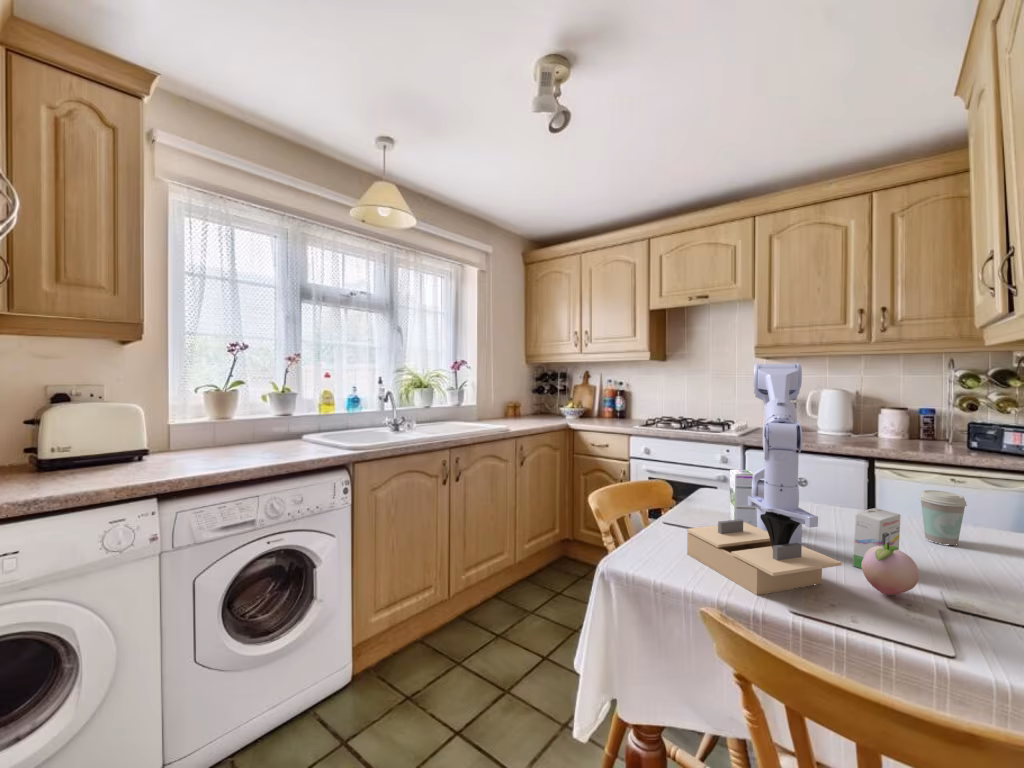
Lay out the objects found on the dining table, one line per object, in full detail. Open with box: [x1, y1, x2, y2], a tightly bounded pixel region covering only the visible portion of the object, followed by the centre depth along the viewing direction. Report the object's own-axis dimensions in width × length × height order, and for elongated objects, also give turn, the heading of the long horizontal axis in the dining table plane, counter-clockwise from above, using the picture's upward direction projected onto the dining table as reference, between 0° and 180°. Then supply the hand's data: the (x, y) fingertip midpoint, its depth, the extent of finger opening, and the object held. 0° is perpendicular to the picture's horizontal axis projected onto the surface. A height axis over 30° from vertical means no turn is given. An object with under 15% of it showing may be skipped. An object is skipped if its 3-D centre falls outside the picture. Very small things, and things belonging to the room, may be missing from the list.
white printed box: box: [729, 468, 757, 527], centre depth 126 cm, size 6×6×14 cm
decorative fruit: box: [861, 542, 920, 596], centre depth 85 cm, size 9×8×10 cm
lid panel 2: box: [731, 543, 842, 576], centre depth 88 cm, size 16×10×3 cm, turn 106°
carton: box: [686, 532, 823, 596], centre depth 97 cm, size 16×20×5 cm
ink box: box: [852, 507, 901, 569], centre depth 98 cm, size 9×5×12 cm, turn 117°
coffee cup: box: [919, 489, 968, 545], centre depth 112 cm, size 8×9×12 cm
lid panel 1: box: [686, 519, 770, 548], centre depth 102 cm, size 16×10×3 cm, turn 106°
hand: (779, 551), depth 90 cm, fingers closed
